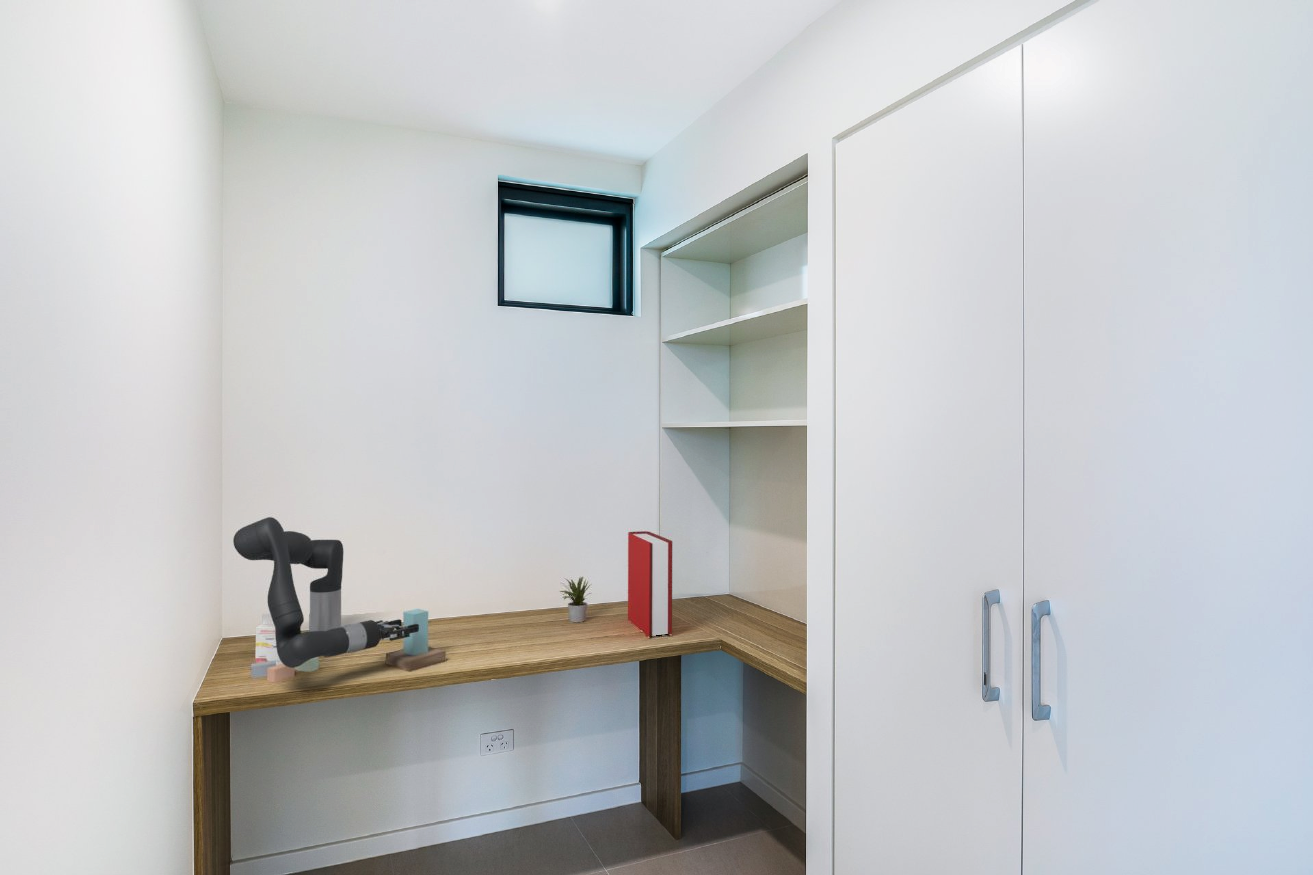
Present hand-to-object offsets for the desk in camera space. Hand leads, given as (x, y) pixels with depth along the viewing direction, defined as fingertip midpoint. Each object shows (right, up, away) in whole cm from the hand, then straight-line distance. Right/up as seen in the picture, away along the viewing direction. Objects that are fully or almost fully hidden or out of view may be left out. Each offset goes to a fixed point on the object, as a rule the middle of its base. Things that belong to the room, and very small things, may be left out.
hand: (409, 625), depth 215 cm
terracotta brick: (-31, -11, -13) cm, 35 cm away
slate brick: (-37, -11, -10) cm, 40 cm away
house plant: (+43, -12, +53) cm, 69 cm away
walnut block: (+1, -11, +2) cm, 12 cm away
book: (+69, -12, +43) cm, 82 cm away
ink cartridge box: (-39, -12, -1) cm, 41 cm away
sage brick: (-28, -12, -5) cm, 30 cm away
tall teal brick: (+1, -8, +2) cm, 9 cm away
